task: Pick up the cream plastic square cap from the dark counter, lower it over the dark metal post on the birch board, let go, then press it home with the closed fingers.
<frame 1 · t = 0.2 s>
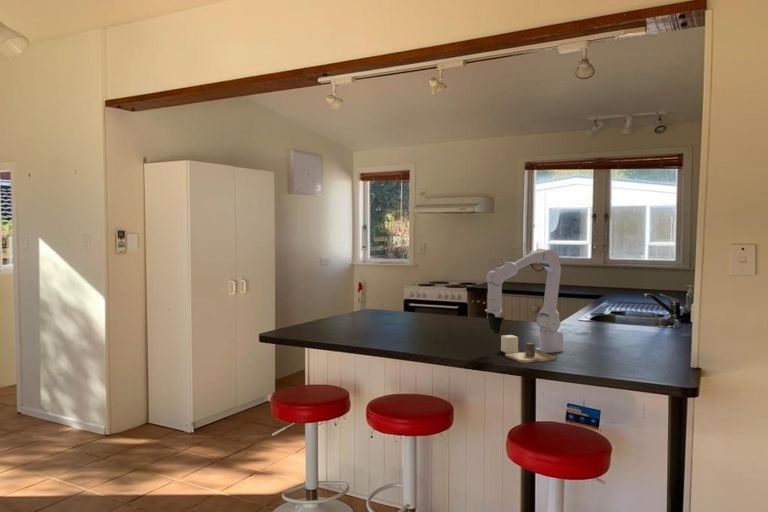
hand: (494, 331, 229), 10 cm above the table, fingers open, 7 cm apart
post board: (530, 358, 222), on the table
cap: (509, 351, 234), on the table
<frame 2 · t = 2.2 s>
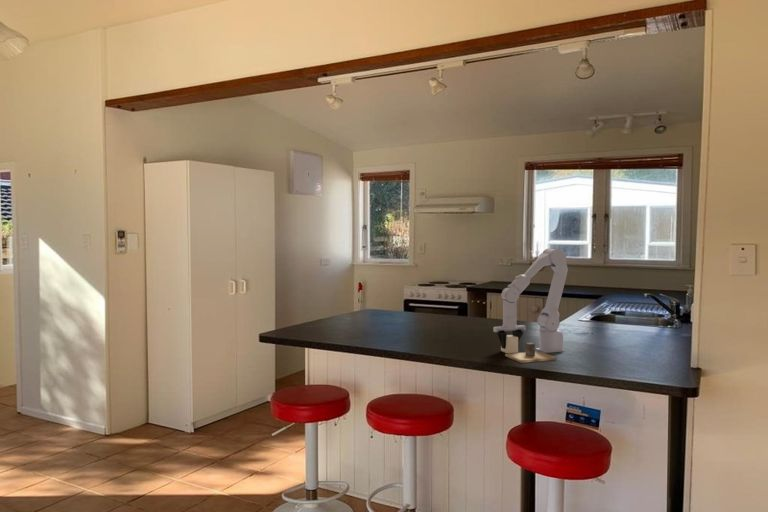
hand: (509, 347, 233), 2 cm above the table, fingers closed on cap, 5 cm apart
cap: (509, 351, 234), on the table, touching gripper
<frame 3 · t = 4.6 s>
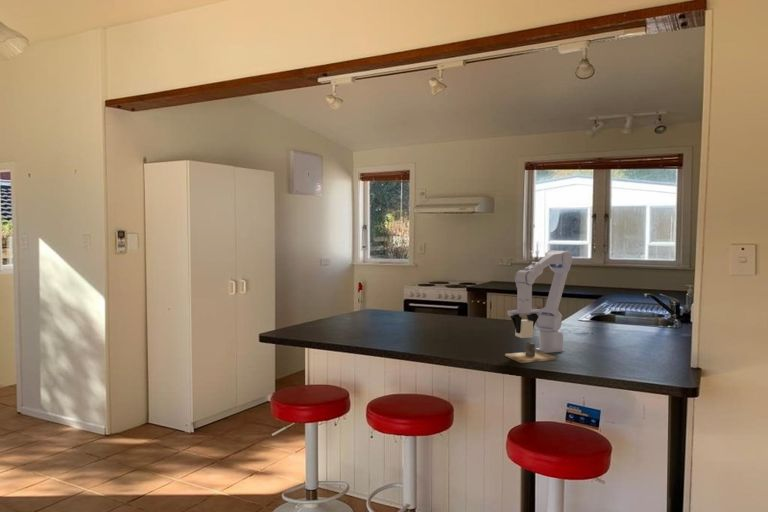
hand: (524, 332, 225), 10 cm above the table, fingers closed on cap, 5 cm apart
cap: (524, 336, 225), point 8 cm above the table, touching gripper
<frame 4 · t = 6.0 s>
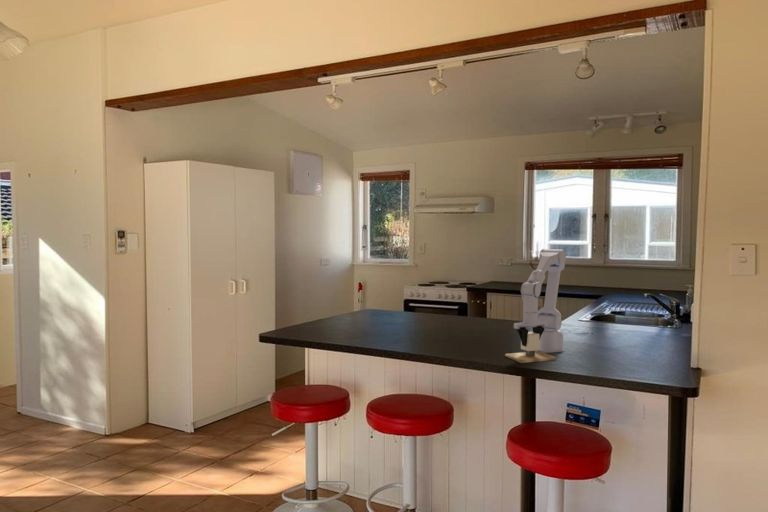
hand: (530, 345, 221), 5 cm above the table, fingers closed on cap, 5 cm apart
cap: (530, 349, 222), point 4 cm above the table, touching gripper
when the fingers open (4 cm above the table, at t = 7.2 s): cap drops 1 cm, resting on post board.
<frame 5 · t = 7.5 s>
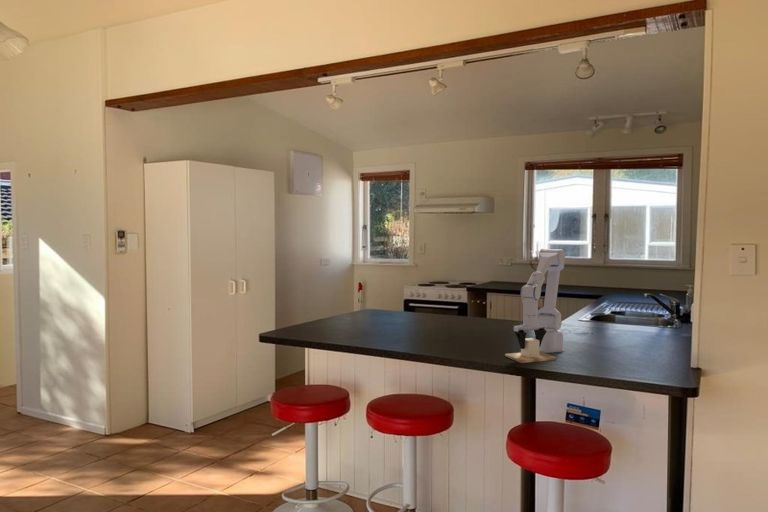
hand: (530, 347, 222), 4 cm above the table, fingers open, 7 cm apart
cap: (530, 355, 222), point 1 cm above the table, touching post board
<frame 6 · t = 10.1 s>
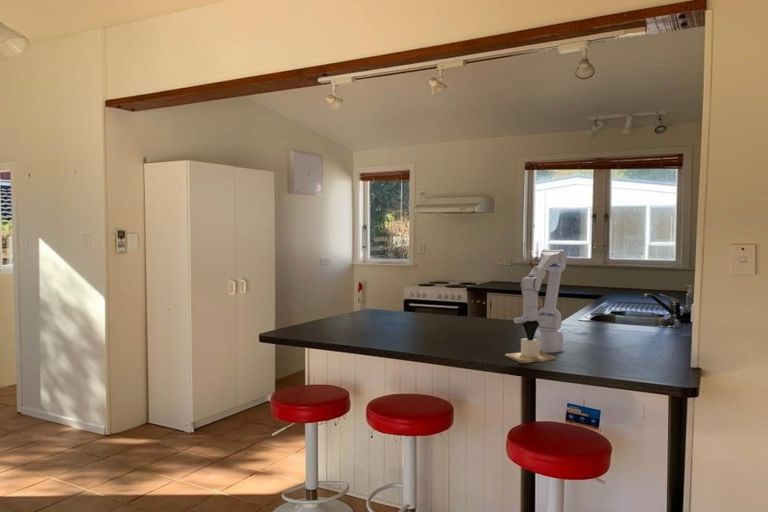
hand: (530, 339, 221), 7 cm above the table, fingers closed, pressing on cap
cap: (530, 355, 222), point 1 cm above the table, touching gripper, post board
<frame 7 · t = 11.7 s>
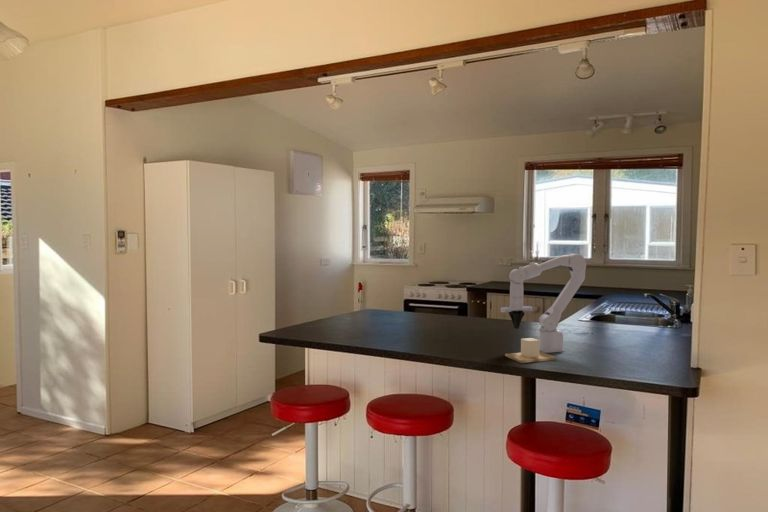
hand: (516, 328, 236), 10 cm above the table, fingers closed
cap: (530, 355, 222), point 1 cm above the table, touching post board
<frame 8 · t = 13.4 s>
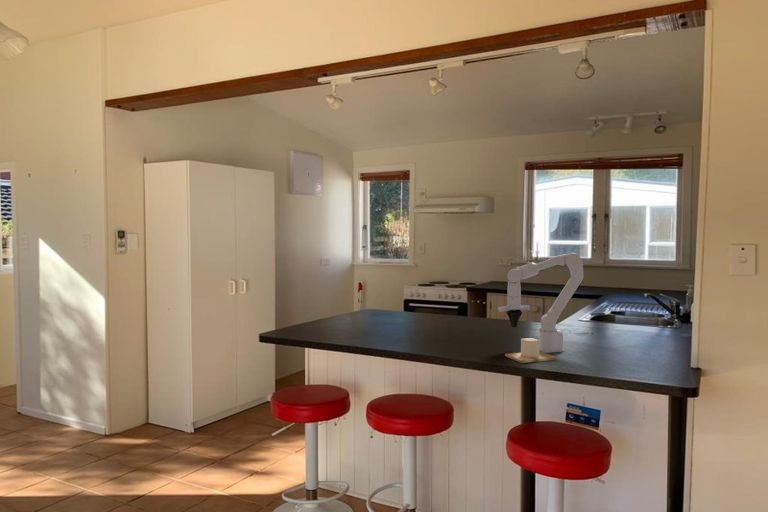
hand: (513, 327, 239), 9 cm above the table, fingers closed
nothing on the table moved.
at the end: cap 0.1 cm from the post board (horizontally); cap point 1.0 cm above the table; cap tilted 0° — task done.
